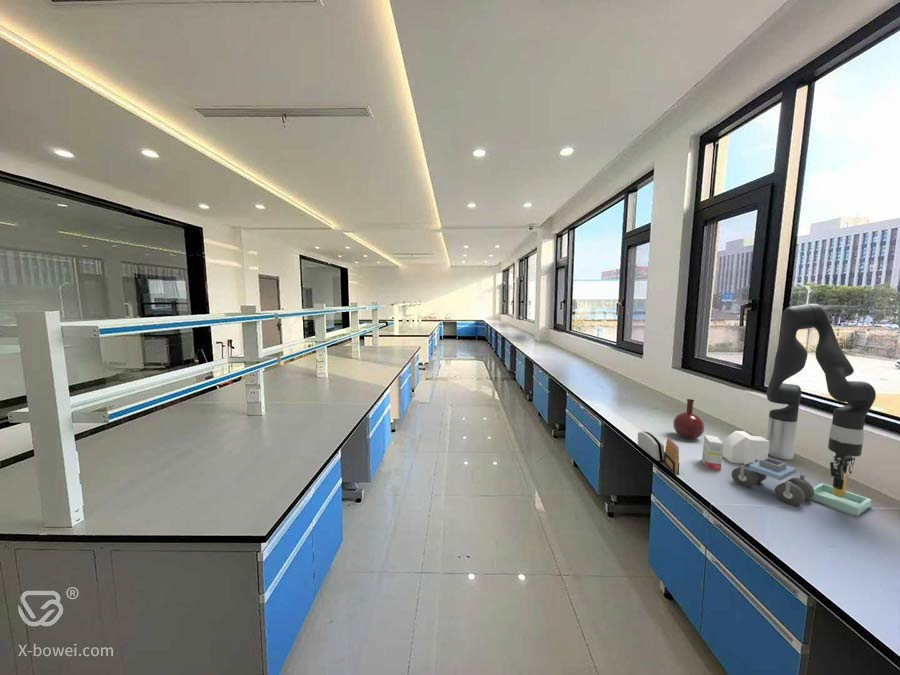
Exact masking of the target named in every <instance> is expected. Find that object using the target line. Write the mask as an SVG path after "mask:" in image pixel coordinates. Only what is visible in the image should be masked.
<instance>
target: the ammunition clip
mask: <svg viewBox="0 0 900 675" xmlns="http://www.w3.org/2000/svg"><path fill="white" fill-rule="evenodd" d="M679 450H680V449H679V446H678V445H677V444H676V443H675V442H674V441H673V440H672V439H671V438H670V437H667V439H666V443H665V448H664V460H663V464H664V465H665V466H666V467H667V468H668V469H669V471H670V472H671V473H672V474H673V475H680V451H679Z"/></svg>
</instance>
